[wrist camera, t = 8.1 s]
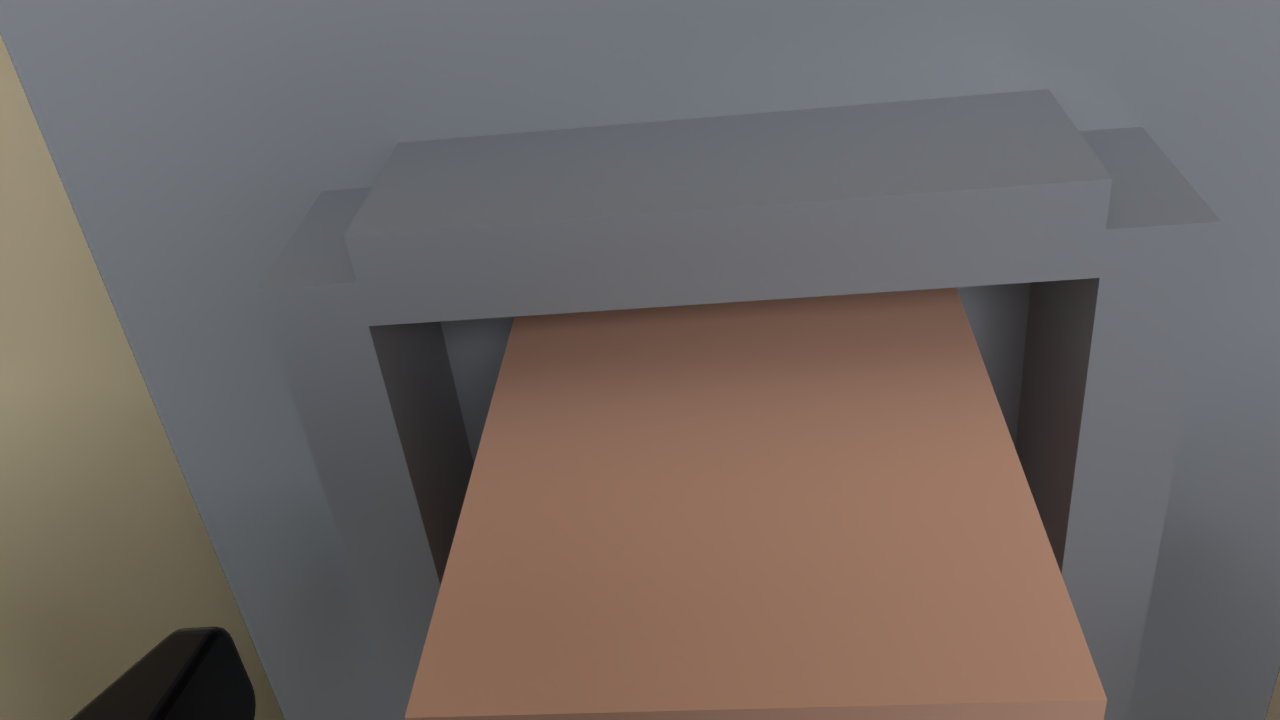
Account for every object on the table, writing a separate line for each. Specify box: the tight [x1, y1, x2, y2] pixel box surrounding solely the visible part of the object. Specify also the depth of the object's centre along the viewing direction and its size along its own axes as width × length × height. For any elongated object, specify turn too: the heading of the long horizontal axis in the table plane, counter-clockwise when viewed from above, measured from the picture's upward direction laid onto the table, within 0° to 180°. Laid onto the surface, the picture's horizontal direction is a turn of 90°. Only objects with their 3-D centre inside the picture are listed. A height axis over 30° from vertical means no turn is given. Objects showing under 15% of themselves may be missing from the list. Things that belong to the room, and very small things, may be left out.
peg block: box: [404, 287, 1107, 720], centre depth 10 cm, size 4×4×5 cm
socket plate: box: [0, 0, 1280, 720], centre depth 11 cm, size 12×12×2 cm
